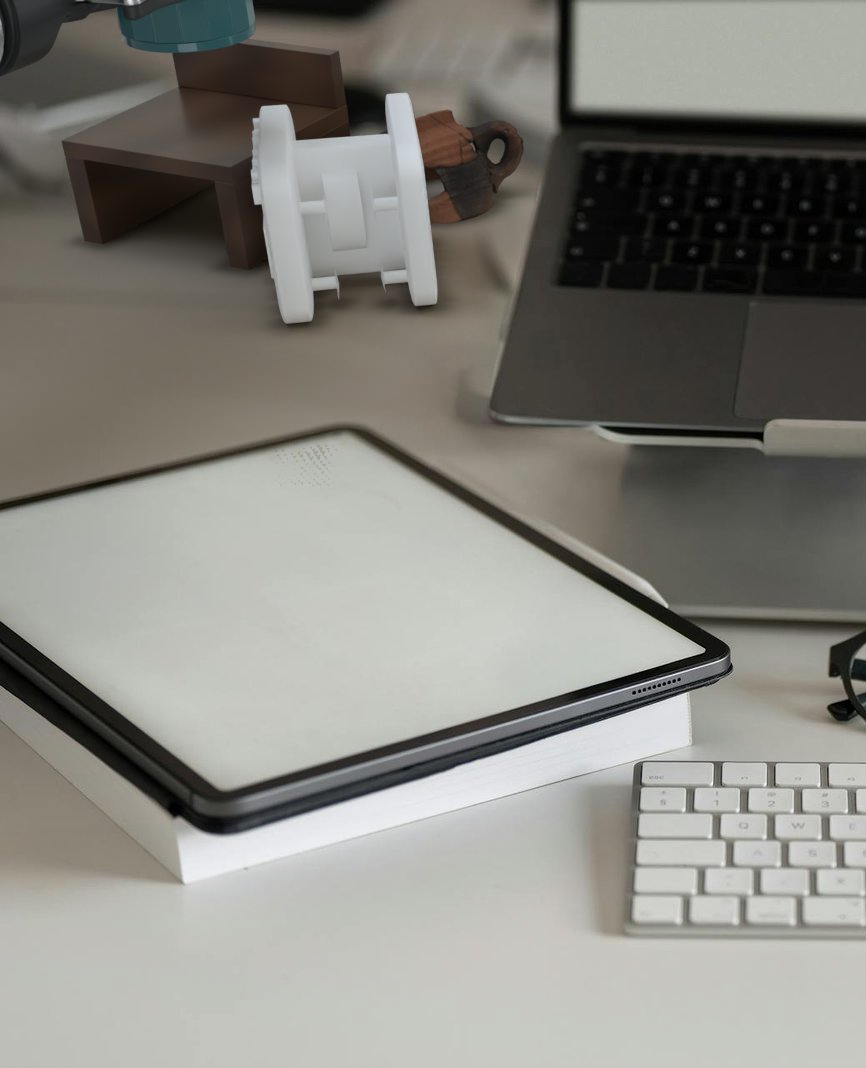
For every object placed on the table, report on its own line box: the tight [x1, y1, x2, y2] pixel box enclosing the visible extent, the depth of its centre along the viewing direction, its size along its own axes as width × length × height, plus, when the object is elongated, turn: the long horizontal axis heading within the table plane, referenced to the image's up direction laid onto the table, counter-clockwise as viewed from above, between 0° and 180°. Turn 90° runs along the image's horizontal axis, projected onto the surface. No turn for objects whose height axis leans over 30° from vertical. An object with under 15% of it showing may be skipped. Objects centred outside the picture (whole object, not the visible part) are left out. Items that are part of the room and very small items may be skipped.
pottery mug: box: [379, 109, 525, 224], centre depth 129 cm, size 12×10×8 cm
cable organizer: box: [251, 92, 438, 325], centre depth 114 cm, size 15×11×12 cm
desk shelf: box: [61, 38, 351, 271], centre depth 123 cm, size 14×14×12 cm
